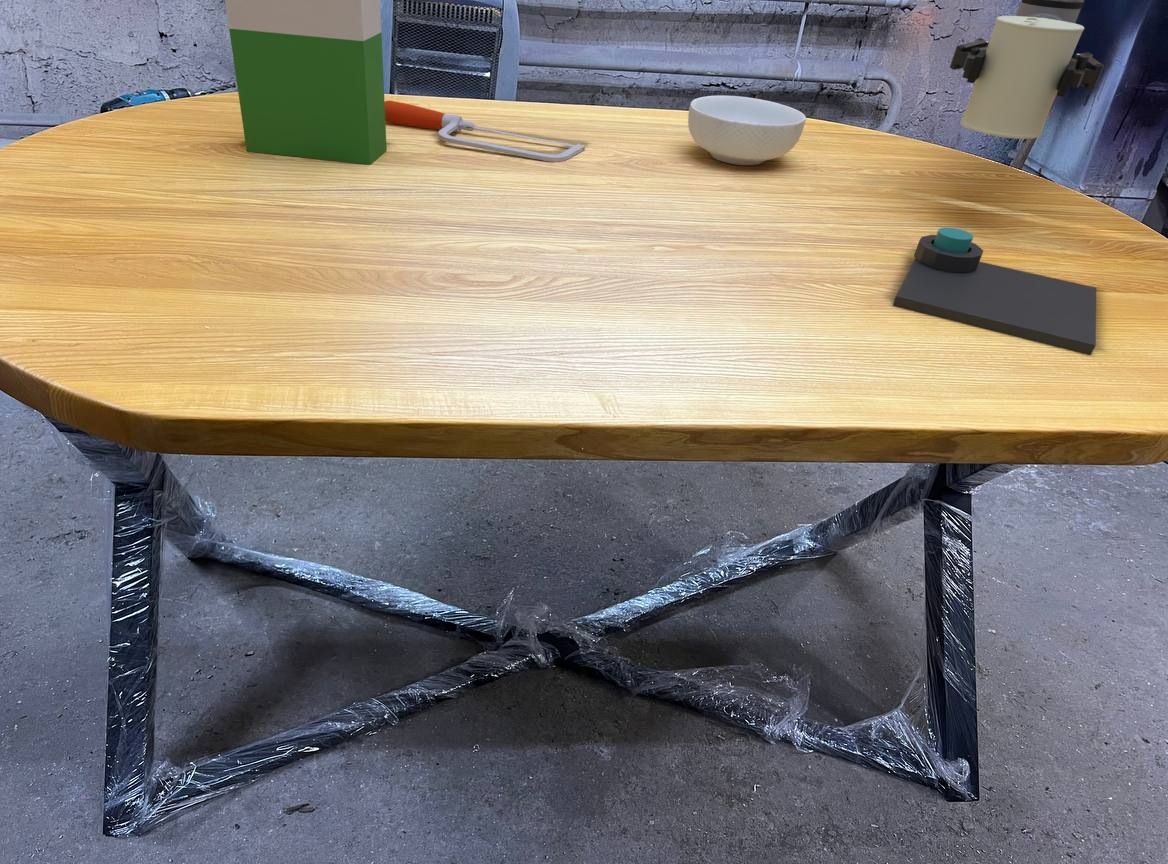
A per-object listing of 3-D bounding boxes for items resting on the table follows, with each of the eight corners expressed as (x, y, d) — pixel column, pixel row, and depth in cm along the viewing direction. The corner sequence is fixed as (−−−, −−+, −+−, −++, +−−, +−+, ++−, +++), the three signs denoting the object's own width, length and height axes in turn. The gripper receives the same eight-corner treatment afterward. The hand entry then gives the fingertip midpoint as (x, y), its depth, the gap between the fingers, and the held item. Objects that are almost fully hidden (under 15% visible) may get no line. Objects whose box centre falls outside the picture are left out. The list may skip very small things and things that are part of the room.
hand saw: (588, 134, 123) (572, 152, 116) (585, 155, 125) (569, 174, 118) (387, 97, 129) (359, 112, 121) (388, 118, 131) (360, 134, 123)
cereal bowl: (729, 180, 115) (740, 126, 111) (660, 147, 127) (667, 98, 123) (818, 169, 122) (831, 118, 118) (745, 139, 134) (754, 92, 129)
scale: (1091, 295, 89) (1104, 269, 87) (1090, 356, 77) (1105, 327, 75) (915, 255, 96) (924, 230, 94) (889, 306, 84) (899, 278, 82)
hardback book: (246, 151, 113) (217, -56, 99) (268, 137, 119) (244, -60, 105) (370, 164, 112) (358, -44, 97) (386, 150, 118) (377, -49, 103)
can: (946, 125, 101) (983, 13, 93) (980, 116, 106) (1018, 9, 98) (1022, 143, 95) (1068, 26, 88) (1053, 132, 100) (1100, 21, 93)
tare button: (969, 247, 91) (975, 232, 90) (965, 257, 89) (971, 241, 88) (935, 240, 92) (940, 224, 91) (930, 249, 90) (936, 234, 89)
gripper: (1109, 94, 107) (1110, 128, 91) (936, 69, 115) (909, 96, 99) (1138, 30, 103) (1144, 53, 87) (956, 8, 111) (931, 26, 95)
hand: (1019, 76), depth 93 cm, fingers closed on can, 9 cm apart
